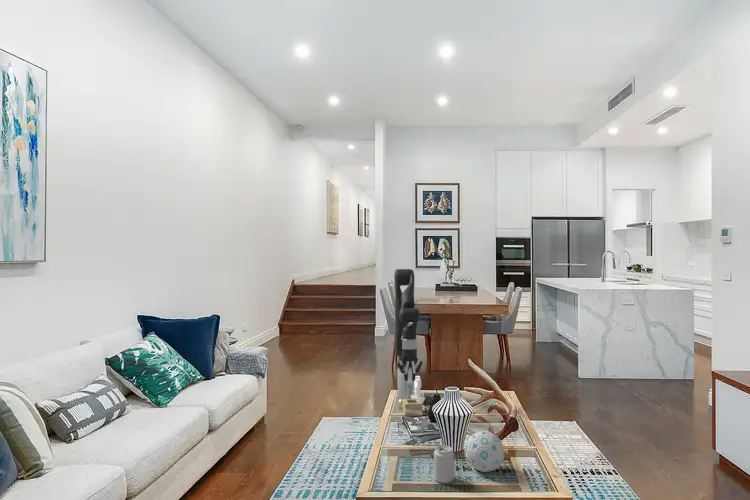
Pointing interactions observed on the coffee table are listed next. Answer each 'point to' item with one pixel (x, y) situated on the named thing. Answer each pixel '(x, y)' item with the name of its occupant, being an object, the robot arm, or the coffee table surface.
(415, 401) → the hole block
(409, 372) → the long pin
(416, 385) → the figurine
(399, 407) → the short pin
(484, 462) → the puzzle ball
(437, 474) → the can
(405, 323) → the robot arm
